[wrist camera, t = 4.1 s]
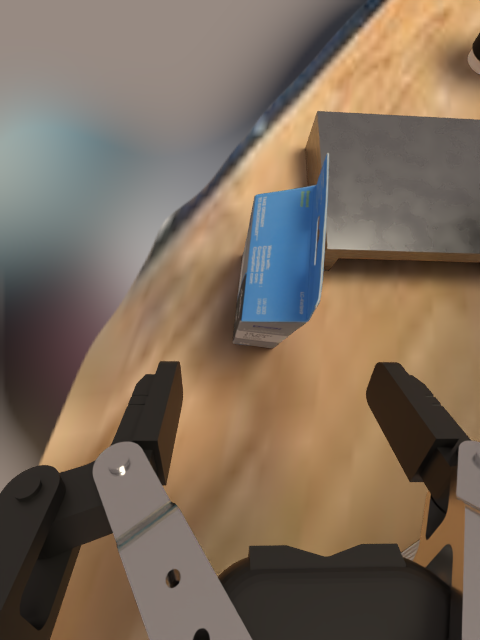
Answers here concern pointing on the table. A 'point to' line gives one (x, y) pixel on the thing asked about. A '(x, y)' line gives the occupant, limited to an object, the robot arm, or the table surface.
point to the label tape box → (282, 263)
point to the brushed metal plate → (398, 186)
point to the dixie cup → (475, 56)
